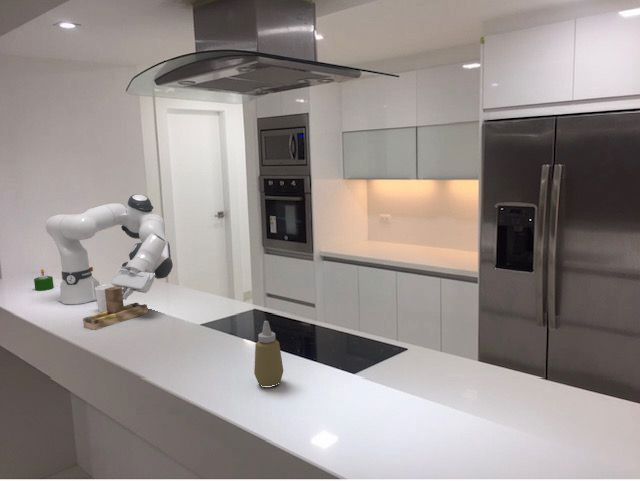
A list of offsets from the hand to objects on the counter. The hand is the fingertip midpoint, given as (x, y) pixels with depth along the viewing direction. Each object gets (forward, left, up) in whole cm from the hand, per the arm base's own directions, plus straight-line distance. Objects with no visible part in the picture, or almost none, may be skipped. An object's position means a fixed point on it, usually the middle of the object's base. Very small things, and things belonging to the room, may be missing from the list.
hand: (122, 298), depth 215 cm
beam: (+2, -2, -8) cm, 9 cm away
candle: (-55, -58, -8) cm, 81 cm away
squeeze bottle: (+67, +64, -8) cm, 93 cm away
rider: (+2, -2, -6) cm, 6 cm away
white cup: (-13, -11, -8) cm, 19 cm away
